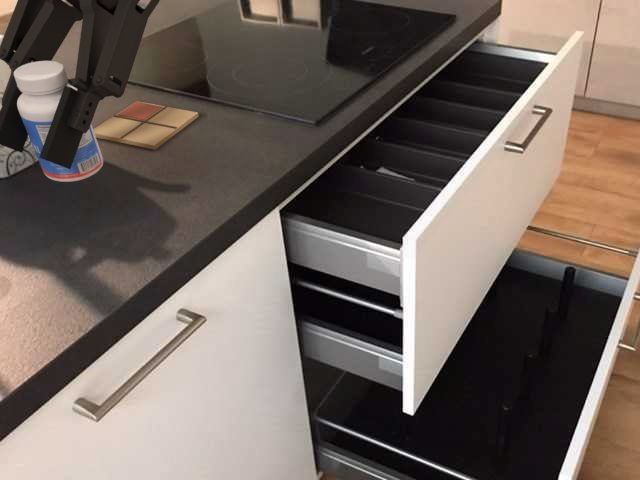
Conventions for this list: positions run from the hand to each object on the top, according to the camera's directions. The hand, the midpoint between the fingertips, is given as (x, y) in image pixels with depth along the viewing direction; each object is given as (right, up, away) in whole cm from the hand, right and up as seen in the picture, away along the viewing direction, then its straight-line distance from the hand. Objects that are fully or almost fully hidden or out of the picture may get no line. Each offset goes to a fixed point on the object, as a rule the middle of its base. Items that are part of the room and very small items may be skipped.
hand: (30, 154), depth 58 cm
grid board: (-1, +10, +30) cm, 32 cm away
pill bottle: (+2, -1, +5) cm, 5 cm away
